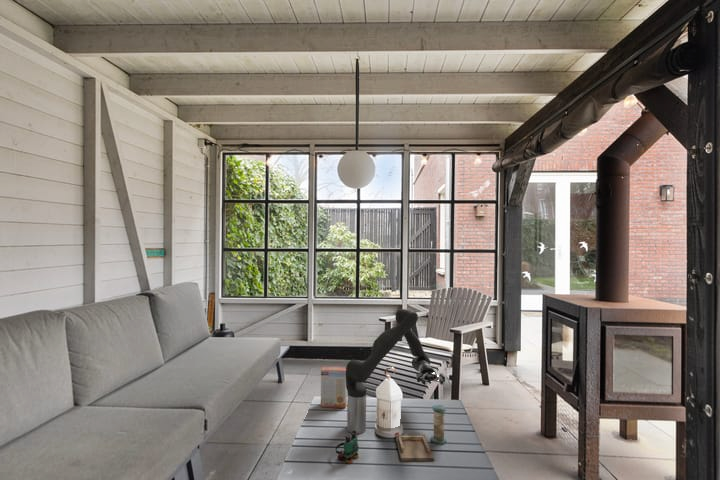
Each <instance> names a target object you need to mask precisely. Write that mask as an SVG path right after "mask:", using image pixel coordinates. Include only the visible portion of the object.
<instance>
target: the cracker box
mask: <svg viewBox="0 0 720 480" xmlns="http://www.w3.org/2000/svg"><path fill="white" fill-rule="evenodd" d="M347 405H348V391H347V388H346V367H339V366H337V367H336V366H335V367H333V366H322V368H321V370H320V407H321V408H337V409H341V408H342V409H346V407H347Z"/></svg>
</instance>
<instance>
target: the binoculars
mask: <svg viewBox="0 0 720 480" xmlns="http://www.w3.org/2000/svg"><path fill="white" fill-rule="evenodd" d="M350 434H351V436H348V435H346V436H344V437H345V440H346V441H344V442H340V443H338V444H337V445H336V446H335V453H336V454H338V455H337V459H338V460H345V461H346V463H347V464H352V463H353V462H354V461H353V459H358V458H359V453H358V452H359V449H360V448H359V441H358V436H357V434H356V431H352V432H350ZM341 446H343V450H338V448H339V447H341Z"/></svg>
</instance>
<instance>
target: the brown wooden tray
mask: <svg viewBox="0 0 720 480" xmlns="http://www.w3.org/2000/svg"><path fill="white" fill-rule="evenodd" d="M397 435H398V436H396V439H395V441H396V445H397V451H398V454H399V458H400V461H402V462H419V461H420V462H433V461H435V456H434V453H433V452H432V449H431V447H430V444H429V442H428V439H427V437H426V434H397Z"/></svg>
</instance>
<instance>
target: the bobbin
mask: <svg viewBox="0 0 720 480" xmlns="http://www.w3.org/2000/svg"><path fill="white" fill-rule="evenodd" d="M432 410H433V434H432V435H431V436H430V441H431V442H432V443H434V444H437V445H444V444H446V443H447V437H446V436H445V412H446V411H447V408H446V406H444V405H441V404H435V405H433V406H432Z"/></svg>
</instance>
